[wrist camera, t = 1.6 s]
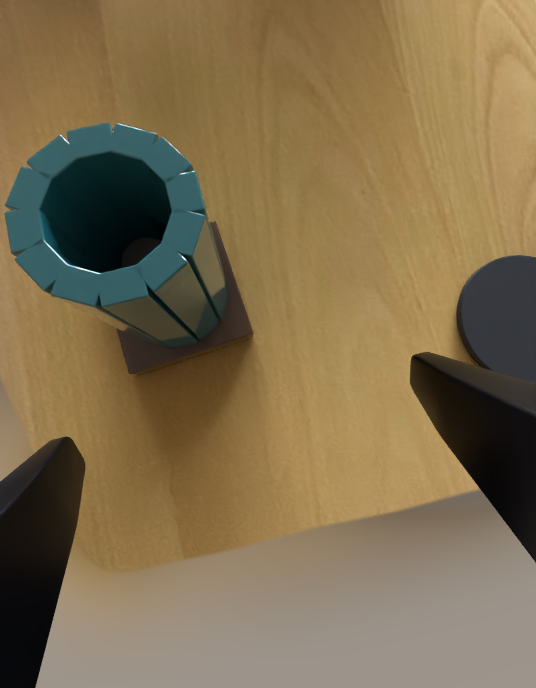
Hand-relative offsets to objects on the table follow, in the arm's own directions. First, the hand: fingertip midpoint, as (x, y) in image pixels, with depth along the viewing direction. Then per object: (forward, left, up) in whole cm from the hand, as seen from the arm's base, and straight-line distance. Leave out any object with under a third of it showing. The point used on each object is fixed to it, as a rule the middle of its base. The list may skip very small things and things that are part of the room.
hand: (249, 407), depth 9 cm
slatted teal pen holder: (+5, +7, -12) cm, 15 cm away
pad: (+10, -16, -14) cm, 24 cm away
